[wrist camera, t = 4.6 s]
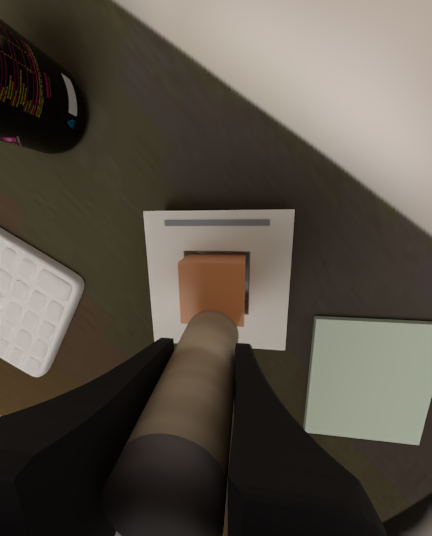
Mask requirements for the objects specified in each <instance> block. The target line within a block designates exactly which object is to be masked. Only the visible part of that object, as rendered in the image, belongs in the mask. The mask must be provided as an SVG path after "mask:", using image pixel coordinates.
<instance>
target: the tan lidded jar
mask: <svg viewBox="0 0 432 536" xmlns="http://www.w3.org/2000/svg"><path fill="white" fill-rule="evenodd" d="M238 338H239V334H238V329H237V327H236V325H235V323H234V322H233V320H232V319H231V318H230V317H228V316H227V315H225V314H224V313H221V312H219V311H214V310H207V311H202V312H199V313H197V314H196V315H194V316H193V317H192V318H191V320H190V321H189V323H188V325H187V327H186V329H185V330H184V332H183V334H182V336H181V338H180V340H179V342H178V344H177V346H176V348H175V350H174V352H173V354H172V356H171V358H170V359H169V361H168V363H167V365H166V367H165V369H164V371H163V373H162V375H161V377H160V379H159V381H158V383H157V385H156V387H155V389H154V390H153V392H152V394H151V396H150V398H149V400H148V402H147V404H146V406H145V408H144V410H143V412H142V414H141V416H140V418H139V419H138V421H137V423H136V425H135V427H134V429H133V431H132V433H131V435H130V437H129V439H128V441H127V443H126V445H125V447H124V449H123V450H122V452H121V454H120V456H119V458H118V460H117V462H116V464H115V466H114V468H113V470H112V472H111V474H110V476H109V478H108V479H107V481H106V483H105V485H104V487H103V490H102V494H101V504H102V508H103V511H104V514H105V516H106V518H107V519H108V521H109V523H110V524H111V525H112V526H113V528H114V529H115V530H116V531H117V532H118V533H119V534H120V535H122V536H222V534H223V527H224V514H225V502H226V489H227V476H228V464H229V451H230V439H231V426H232V413H233V401H234V388H235V346H236V343H238Z"/></svg>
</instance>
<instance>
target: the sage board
mask: <svg viewBox="0 0 432 536" xmlns="http://www.w3.org/2000/svg"><path fill="white" fill-rule="evenodd" d="M431 396H432V321H413V320H392V319H370V318H349V317H328V316H314V324H313V334H312V344H311V354H310V364H309V375H308V385H307V395H306V405H305V415H304V425H303V428H304V430H305V431H306V432H307V433H315V434H324V435H333V436H341V437H350V438H359V439H368V440H377V441H386V442H395V443H404V444H413V445H419V443H420V439H421V435H422V431H423V428H424V424H425V420H426V416H427V412H428V408H429V404H430V400H431Z"/></svg>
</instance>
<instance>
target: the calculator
mask: <svg viewBox="0 0 432 536" xmlns="http://www.w3.org/2000/svg"><path fill="white" fill-rule="evenodd" d="M84 287H85V283H84V280H83V279H82V278H81V277H80V276H79V275H78V274H76V273H75V272H73V271H72V270H70V269H69V268H67V267H65V266H64V265H62V264H60V263H59V262H57V261H55V260H54V259H52V258H50V257H49V256H47V255H45V254H44V253H42V252H40V251H39V250H37V249H35V248H34V247H32V246H30V245H29V244H27V243H25V242H24V241H22V240H20V239H19V238H17V237H15V236H14V235H12V234H10V233H9V232H7V231H5V230H4V229H2V228H0V358H2V359H3V360H5V361H7V362H8V363H10V364H12V365H13V366H15V367H17V368H18V369H20V370H22V371H24V372H25V373H27V374H29V375H31V376H34V377H40V376H42V375H44V374H45V373H47V371H48V370H49V369H50V368H51V366H52V364H53V362H54V359H55V357H56V355H57V352H58V350H59V348H60V345H61V343H62V341H63V338H64V336H65V334H66V331H67V329H68V327H69V324H70V322H71V320H72V317H73V315H74V313H75V310H76V308H77V306H78V303H79V301H80V299H81V296H82V294H83V291H84Z"/></svg>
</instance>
